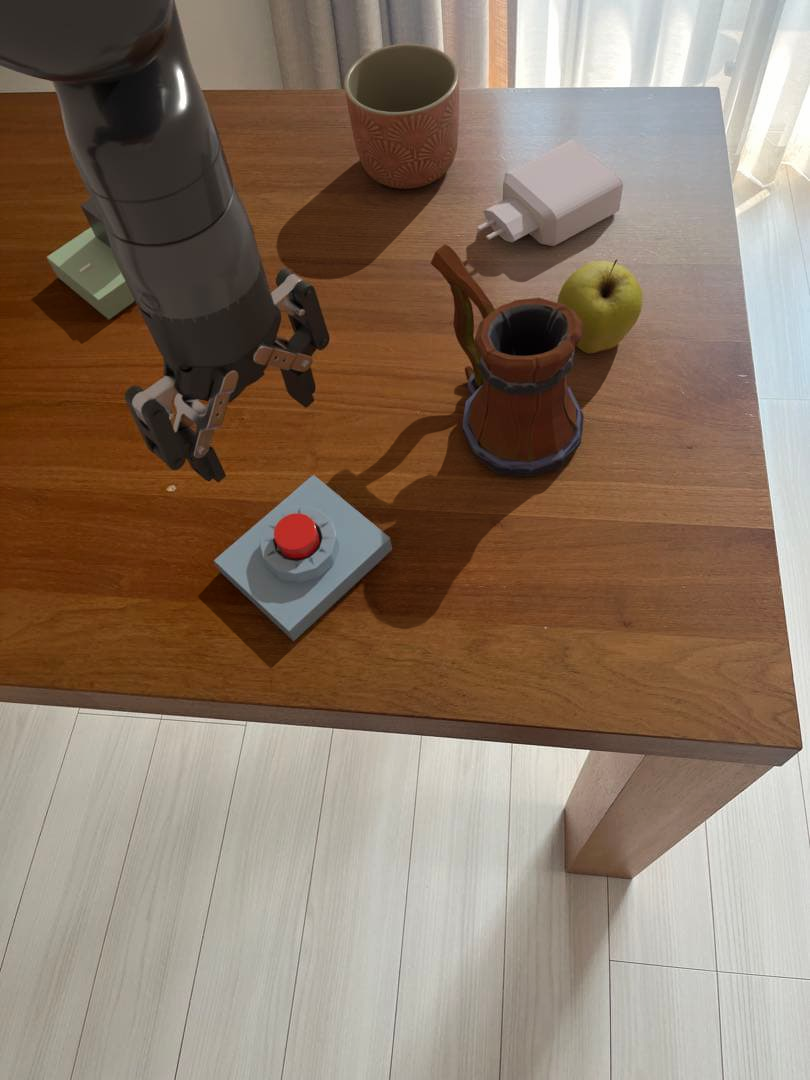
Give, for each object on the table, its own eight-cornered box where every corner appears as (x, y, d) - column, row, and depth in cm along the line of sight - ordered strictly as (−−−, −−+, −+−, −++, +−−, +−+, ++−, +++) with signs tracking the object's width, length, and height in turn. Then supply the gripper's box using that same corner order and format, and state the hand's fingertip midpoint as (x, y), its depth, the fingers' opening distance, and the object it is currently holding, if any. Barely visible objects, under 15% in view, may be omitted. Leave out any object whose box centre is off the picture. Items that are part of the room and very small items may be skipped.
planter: (483, 169, 103) (482, 80, 93) (395, 216, 100) (385, 130, 91) (422, 117, 108) (415, 29, 99) (337, 160, 106) (322, 74, 96)
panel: (110, 321, 96) (99, 300, 93) (55, 275, 100) (43, 254, 97) (202, 255, 100) (194, 233, 97) (146, 213, 104) (136, 191, 101)
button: (297, 567, 75) (293, 557, 73) (269, 542, 76) (265, 532, 75) (327, 539, 76) (324, 529, 74) (300, 515, 77) (296, 505, 76)
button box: (293, 641, 75) (284, 622, 72) (219, 571, 79) (207, 550, 76) (392, 549, 79) (388, 527, 75) (317, 487, 83) (309, 463, 79)
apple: (555, 290, 91) (593, 222, 82) (625, 322, 91) (671, 258, 82) (532, 347, 88) (569, 282, 79) (605, 380, 88) (650, 319, 79)
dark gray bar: (95, 236, 98) (79, 203, 94) (109, 226, 99) (94, 193, 95) (129, 263, 95) (114, 230, 92) (144, 252, 96) (129, 220, 92)
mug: (399, 382, 88) (384, 269, 75) (491, 327, 91) (492, 208, 78) (512, 503, 80) (516, 400, 67) (609, 439, 83) (631, 328, 70)
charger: (458, 228, 98) (566, 171, 101) (507, 276, 94) (618, 215, 97) (457, 192, 94) (569, 135, 97) (508, 241, 90) (624, 179, 93)
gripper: (243, 170, 53) (295, 351, 67) (52, 307, 49) (150, 470, 63) (329, 224, 50) (364, 402, 64) (133, 374, 46) (217, 530, 60)
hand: (258, 435), depth 64 cm, fingers open, 8 cm apart
